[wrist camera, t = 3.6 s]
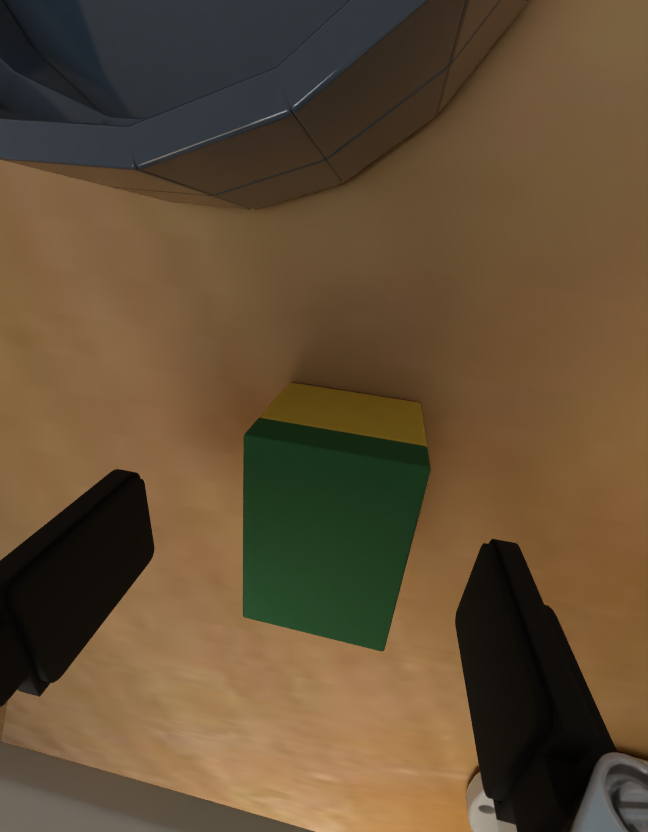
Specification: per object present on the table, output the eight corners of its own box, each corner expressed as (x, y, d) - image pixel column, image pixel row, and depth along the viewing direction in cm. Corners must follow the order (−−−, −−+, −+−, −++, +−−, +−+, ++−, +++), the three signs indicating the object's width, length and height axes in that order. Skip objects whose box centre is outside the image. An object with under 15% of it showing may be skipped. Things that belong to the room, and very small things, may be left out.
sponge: (420, 402, 13) (432, 468, 9) (387, 551, 16) (383, 652, 12) (289, 381, 13) (242, 434, 9) (281, 528, 16) (242, 617, 12)
